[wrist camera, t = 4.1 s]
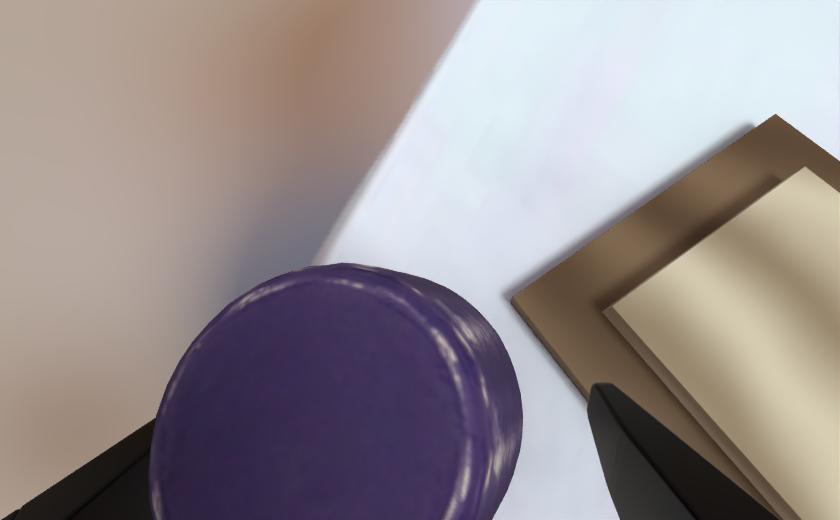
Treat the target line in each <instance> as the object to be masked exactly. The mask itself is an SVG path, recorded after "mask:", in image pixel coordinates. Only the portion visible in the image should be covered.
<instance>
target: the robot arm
mask: <svg viewBox="0 0 840 520" xmlns="http://www.w3.org/2000/svg"><path fill="white" fill-rule="evenodd" d="M587 413H588V419H589V423H590V427H591V430H592V434H593V437H594V441H595V444H596V448H597V452H598V455H599V459H600V462H601V466H602V469H603V473H604V477H605V480H606V483H607V487H608V489H609V492H610V495H611V498H612V500H613V503H614V505H615V508H616V511H617V513H618V516H619V518H620V520H781V519H779V518H778V517H777V516H776V515H774V514H773V513H772V512H771V511H770V510H768V509H767V508H766V507H765V506H763V505H762V504H761V503H760V502H758V501H757V500H756V499H755V498H753V497H752V496H751V495H750V494H749V493H747V492H746V491H745V490H744V489H742V488H741V487H740V486H739V485H737V484H736V483H735V482H734V481H733V480H731V479H730V478H729V477H728V476H726V475H725V474H724V473H723V472H721V471H720V470H719V469H718V468H717V467H715V466H714V465H713V464H712V463H710V462H709V461H708V460H707V459H705V458H704V457H703V456H702V455H701V454H699V453H698V452H697V451H696V450H694V449H693V448H692V447H691V446H689V445H688V444H687V443H686V442H684V441H683V440H682V439H681V438H680V437H678V436H677V435H676V434H675V433H673V432H672V431H671V430H670V429H668V428H667V427H666V426H665V425H664V424H662V423H661V422H660V421H659V420H657V419H656V418H655V417H654V416H652V415H651V414H650V413H649V412H648V411H646V410H645V409H644V408H643V407H641V406H640V405H639V404H638V403H636V402H635V401H634V400H633V399H632V398H630V397H629V396H628V395H627V394H625V393H624V392H623V391H622V390H620V389H619V388H618V387H617V386H615V385H614V384H612V383H609V382H603V383H593V384H592V386H591V389H590V395H589V401H588V407H587ZM155 420H156V418H155V419H153V420H152V421H150V422H148V423H147V424H146V425H144V426H142V427H141V428H139V429H138V430H136V431H135V432H133V433H132V434H130V435H129V436H127V437H126V438H124V439H123V440H121V441H120V442H118V443H117V444H115V445H114V446H112V447H111V448H109V449H108V450H106V451H105V452H103V453H102V454H100V455H99V456H97V457H96V458H94V459H93V460H91V461H90V462H88V463H87V464H85V465H83V466H82V467H81V468H79V469H77V470H76V471H74V472H73V473H71V474H70V475H68V476H67V477H65V478H64V479H63V480H61V481H59V482H58V483H56V484H55V485H53V486H52V487H50V488H49V489H47V490H46V491H44V492H43V493H41V494H40V495H38V496H37V497H35V498H34V499H32V500H31V501H29V502H28V503H26V504H25V505H23V506H22V507H21V509H17V510H15V511H14V512H12V513H11V514H9V515H8V516H7V517H5V518H3V519H2V520H153V516H152V512H151V507H150V501H149V477H148V474H149V463H150V451H151V443H152V437H153V431H154V426H155Z"/></svg>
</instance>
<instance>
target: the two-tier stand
mask: <svg viewBox="0 0 840 520" xmlns="http://www.w3.org/2000/svg"><path fill="white" fill-rule="evenodd" d="M510 303H511V304H512V305H513V306H514V308H515V309H516V310H517V312H518V313H519V314H520V315H521V317H522V318H523V319H524V320H525V322H526V323H527V324H528V326H529V327H530V328H531V329H532V331H533V332H534V333H535V335H536V336H537V337H538V338H539V340H540V341H541V342H542V344H543V345H544V346H545V347H546V349H547V350H548V351H549V353H550V354H551V355H552V356H553V358H554V359H555V360H556V361H557V363H558V364H559V365H560V367H561V368H562V369H563V370H564V372H565V373H566V374H567V376H568V377H569V378H570V379H571V381H572V382H573V383H574V385H575V386H576V387H577V388H578V390H579V391H580V392H581V393H582V395H583V396H584V397H585V399H586V400H587V401H589V395H590V389H591V386H592V384H593V383H603V382H609V383H612V384H614V385H615V386H617V387H618V388H619V389H620V390H622V391H623V392H624V393H625V394H627V395H628V396H629V397H630V398H632V399H633V400H634V401H635V402H636V403H638V404H639V405H640V406H641V407H643V408H644V409H645V410H646V411H648V412H649V413H650V414H651V415H652V416H654V417H655V418H656V419H657V420H659V421H660V422H661V423H662V424H664V425H665V426H666V427H667V428H668V429H670V430H671V431H672V432H673V433H675V434H676V435H677V436H678V437H680V438H681V439H682V440H683V441H684V442H686V443H687V444H688V445H689V446H691V447H692V448H693V449H694V450H696V451H697V452H698V453H699V454H701V455H702V456H703V457H704V458H705V459H707V460H708V461H709V462H710V463H712V464H713V465H714V466H715V467H717V468H718V469H719V470H720V471H721V472H723V473H724V474H725V475H726V476H728V477H729V478H730V479H731V480H733V481H734V482H735V483H736V484H737V485H739V486H740V487H741V488H742V489H744V490H745V491H746V492H747V493H749V494H750V495H751V496H752V497H753V498H755V499H756V500H757V501H758V502H760V503H761V504H762V505H763V506H765V507H766V508H767V509H768V510H770V511H771V512H772V513H773V514H774V515H776V516H777V517H778V518H779V519H781V520H840V161H839V160H837V159H836V158H835V157H833V156H832V155H830V154H829V153H828V152H826V151H825V150H824V149H822V148H821V147H820V146H818V145H817V144H816V143H814V142H813V141H812V140H810V139H809V138H807V137H806V136H805V135H803V134H802V133H801V132H799V131H798V130H797V129H795V128H794V127H793V126H791V125H790V124H789V123H787V122H786V121H784V120H783V119H782V118H780V117H779V116H778V115H776V114H775V115H773V116H772V117H770V118H769V119H767V120H766V121H765V122H763V123H762V124H760V125H759V126H757V127H756V128H755V129H753V130H752V131H750V132H749V133H747V134H746V135H744V136H743V137H742V138H740V139H739V140H737V141H736V142H734V143H733V144H732V145H730V146H729V147H727V148H726V149H724V150H723V151H722V152H720V153H719V154H717V155H716V156H714V157H713V158H711V159H710V160H709V161H707V162H706V163H704V164H703V165H701V166H700V167H699V168H697V169H696V170H694V171H693V172H691V173H690V174H689V175H687V176H686V177H684V178H683V179H681V180H680V181H678V182H677V183H676V184H674V185H673V186H671V187H670V188H668V189H667V190H666V191H664V192H663V193H661V194H660V195H658V196H657V197H656V198H654V199H653V200H651V201H650V202H648V203H647V204H645V205H644V206H643V207H641V208H640V209H638V210H637V211H635V212H634V213H633V214H631V215H630V216H628V217H627V218H625V219H624V220H623V221H621V222H620V223H618V224H617V225H615V226H614V227H613V228H611V229H610V230H608V231H607V232H605V233H604V234H602V235H601V236H600V237H598V238H597V239H595V240H594V241H592V242H591V243H590V244H588V245H587V246H585V247H584V248H582V249H581V250H580V251H578V252H577V253H575V254H574V255H572V256H571V257H569V258H568V259H567V260H565V261H564V262H562V263H561V264H559V265H558V266H557V267H555V268H554V269H552V270H551V271H549V272H548V273H547V274H545V275H544V276H542V277H541V278H539V279H538V280H536V281H535V282H534V283H532V284H531V285H529V286H528V287H526V288H525V289H524V290H522V291H521V292H519V293H518V294H516V295H515V296H514V297H513V298H512V300H511V301H510Z"/></svg>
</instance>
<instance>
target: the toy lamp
mask: <svg viewBox="0 0 840 520" xmlns="http://www.w3.org/2000/svg"><path fill="white" fill-rule="evenodd" d="M522 427H523V411H522V402H521V393H520V389H519V385H518V381H517V377H516V374H515V370H514V367H513V365H512V362H511V359H510V357H509V354H508V352H507V350H506V348H505V346H504V344H503V342H502V340H501V339H500V337H499V335H498V334H497V332H496V331H495V330H494V328H493V327H492V326H491V325H490V323H489V322H488V321H487V320H486V319H485V318H484V317H483V316H482V314H481V313H480V312H479V311H478V310H476V309H475V308H474V307H473V306H472V305H471V304H470V303H469V302H467V301H466V300H465V299H464V298H462V297H461V296H459V295H458V294H456V293H455V292H453V291H452V290H450V289H448V288H446V287H444V286H442V285H439V284H437V283H435V282H432V281H430V280H427V279H425V278H421V277H418V276H414V275H410V274H407V273H402V272H397V271H393V270H389V269H384V268H380V267H374V266H367V265H361V264H354V263H337V264H331V265H322V266H309V267H305V268H302V269H298V270H294V271H291V272H288V273H286V274H283V275H280V276H278V277H275V278H273V279H271V280H268V281H266V282H264V283H261V284H259V285H257V286H256V287H254V288H252V289H251V290H249V291H247V292H246V293H244V294H243V295H241V296H240V297H238V298H237V299H235V300H234V301H233V302H231V303H230V304H228V305H227V306H226V307H225V308H224V309H223V310H222V311H221V312H220V313H219V314H218V315H217V316H216V317H215V318H214V319H213V320H212V321H211V322H210V323H209V324H208V325H207V326H206V327H205V328H204V329H203V330H202V332H201V333H200V334H199V335H198V336H197V337H196V338H195V340H194V341H193V342H192V343H191V345H190V346H189V348H188V349H187V351H186V353H185V354H184V356H183V357H182V358H181V360H180V361H179V363H178V365H177V367H176V369H175V371H174V373H173V375H172V377H171V379H170V381H169V383H168V384H167V387H166V390H165V393H164V395H163V398H162V401H161V404H160V407H159V409H158V412H157V415H156V420H155V426H154V431H153V437H152V443H151V451H150V463H149V474H148V477H149V501H150V507H151V512H152V516H153V520H492V519H493V517H494V514H495V513H496V511H497V509H498V507H499V505H500V503H501V502H502V500H503V498H504V496H505V494H506V492H507V490H508V487H509V484H510V482H511V479H512V477H513V474H514V470H515V467H516V463H517V459H518V456H519V452H520V447H521V439H522Z"/></svg>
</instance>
